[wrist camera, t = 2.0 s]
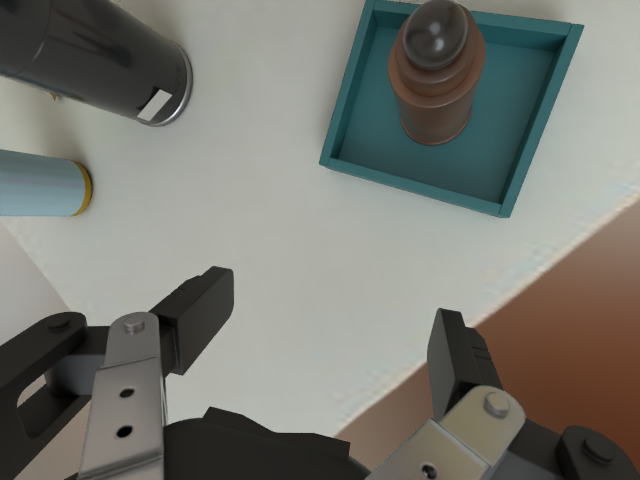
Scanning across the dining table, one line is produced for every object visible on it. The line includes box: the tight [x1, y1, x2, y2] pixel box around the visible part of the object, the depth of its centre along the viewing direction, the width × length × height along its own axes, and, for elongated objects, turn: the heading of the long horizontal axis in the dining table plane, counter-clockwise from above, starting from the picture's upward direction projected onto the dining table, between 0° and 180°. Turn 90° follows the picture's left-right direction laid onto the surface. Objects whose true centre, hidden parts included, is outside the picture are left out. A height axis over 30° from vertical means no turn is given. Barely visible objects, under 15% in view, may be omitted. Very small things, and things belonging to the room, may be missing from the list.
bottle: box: [0, 149, 92, 216], centre depth 36 cm, size 7×7×15 cm
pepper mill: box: [388, 0, 486, 146], centre depth 22 cm, size 6×6×14 cm
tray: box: [319, 0, 584, 218], centre depth 27 cm, size 16×14×3 cm
